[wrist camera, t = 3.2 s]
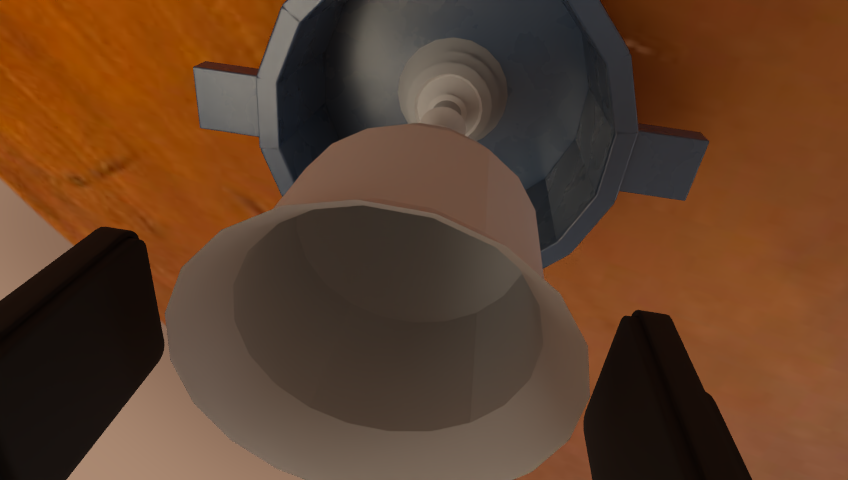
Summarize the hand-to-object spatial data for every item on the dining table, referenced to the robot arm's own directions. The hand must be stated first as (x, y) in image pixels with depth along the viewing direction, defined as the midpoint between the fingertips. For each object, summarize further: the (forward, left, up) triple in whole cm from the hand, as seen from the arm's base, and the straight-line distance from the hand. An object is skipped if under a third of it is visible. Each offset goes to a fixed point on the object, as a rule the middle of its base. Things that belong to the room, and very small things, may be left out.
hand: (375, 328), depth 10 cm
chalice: (0, 0, -17) cm, 17 cm away
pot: (0, 0, -17) cm, 17 cm away
